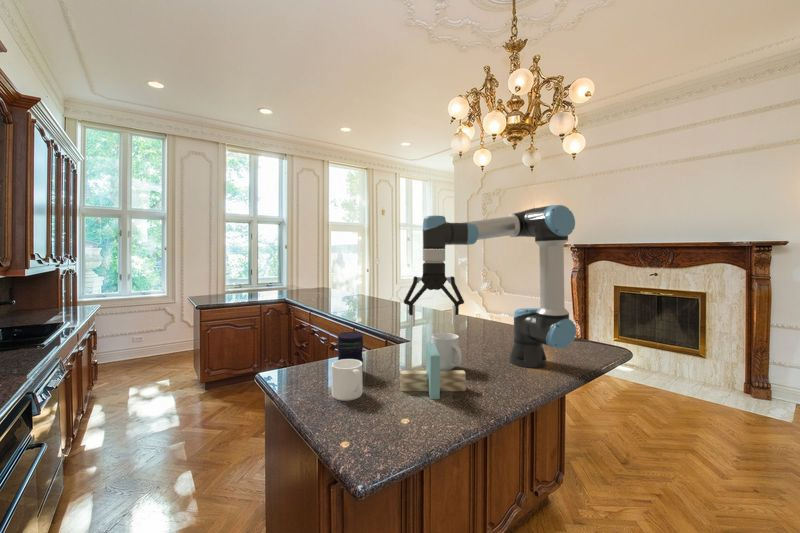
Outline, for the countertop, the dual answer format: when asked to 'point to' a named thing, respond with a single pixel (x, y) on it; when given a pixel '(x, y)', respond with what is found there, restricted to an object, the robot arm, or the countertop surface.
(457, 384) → the notched wooden beam
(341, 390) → the mug
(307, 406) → the countertop surface
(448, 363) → the mug
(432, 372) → the pale teal block
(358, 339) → the storage jar
